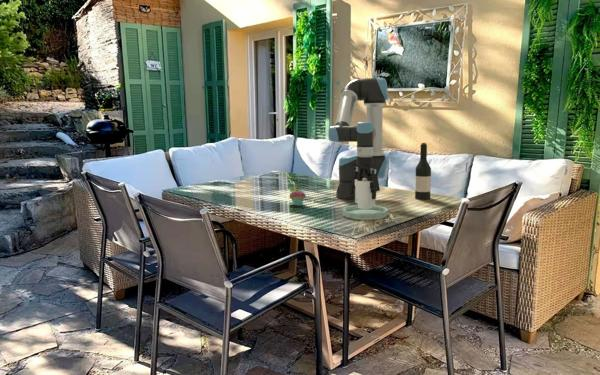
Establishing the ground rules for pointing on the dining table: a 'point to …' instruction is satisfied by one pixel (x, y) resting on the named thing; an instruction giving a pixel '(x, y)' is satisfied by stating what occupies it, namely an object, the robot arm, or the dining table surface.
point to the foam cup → (363, 193)
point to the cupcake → (297, 197)
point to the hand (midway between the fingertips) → (365, 204)
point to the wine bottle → (423, 176)
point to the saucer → (365, 212)
